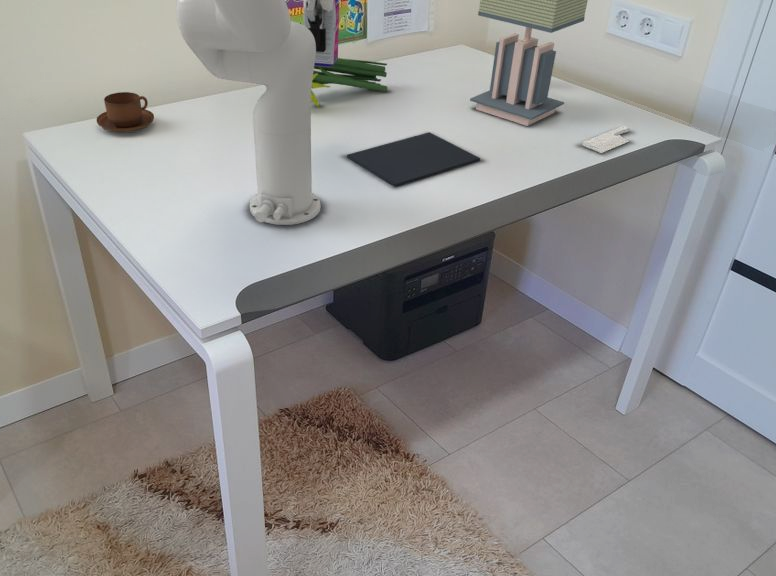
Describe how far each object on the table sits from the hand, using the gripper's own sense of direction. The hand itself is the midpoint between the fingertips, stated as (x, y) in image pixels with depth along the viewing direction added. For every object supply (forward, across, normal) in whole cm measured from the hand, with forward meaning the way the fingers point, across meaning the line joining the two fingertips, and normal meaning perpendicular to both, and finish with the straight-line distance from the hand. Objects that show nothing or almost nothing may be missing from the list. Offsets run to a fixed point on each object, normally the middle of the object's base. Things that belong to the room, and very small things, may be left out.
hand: (321, 44), depth 135 cm
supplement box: (+3, 0, 0) cm, 3 cm away
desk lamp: (+22, +36, -38) cm, 56 cm away
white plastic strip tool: (+21, +23, -59) cm, 67 cm away
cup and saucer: (+22, +3, +44) cm, 49 cm away
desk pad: (+21, +3, -19) cm, 29 cm away
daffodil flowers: (+22, +32, +7) cm, 40 cm away
